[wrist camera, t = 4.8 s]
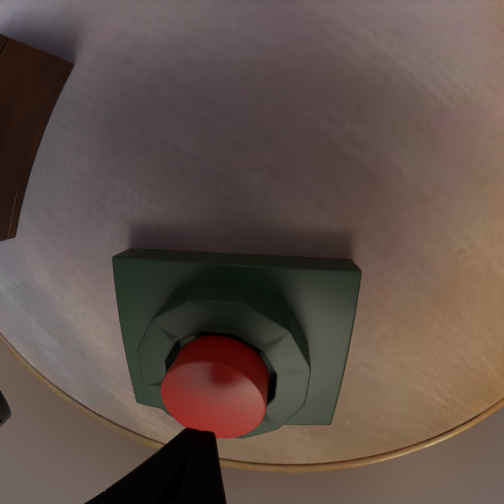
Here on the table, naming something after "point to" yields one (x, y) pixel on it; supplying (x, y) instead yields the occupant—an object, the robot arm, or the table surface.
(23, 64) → the chest
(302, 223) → the table surface
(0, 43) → the lid
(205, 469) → the robot arm
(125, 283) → the base
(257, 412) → the button
